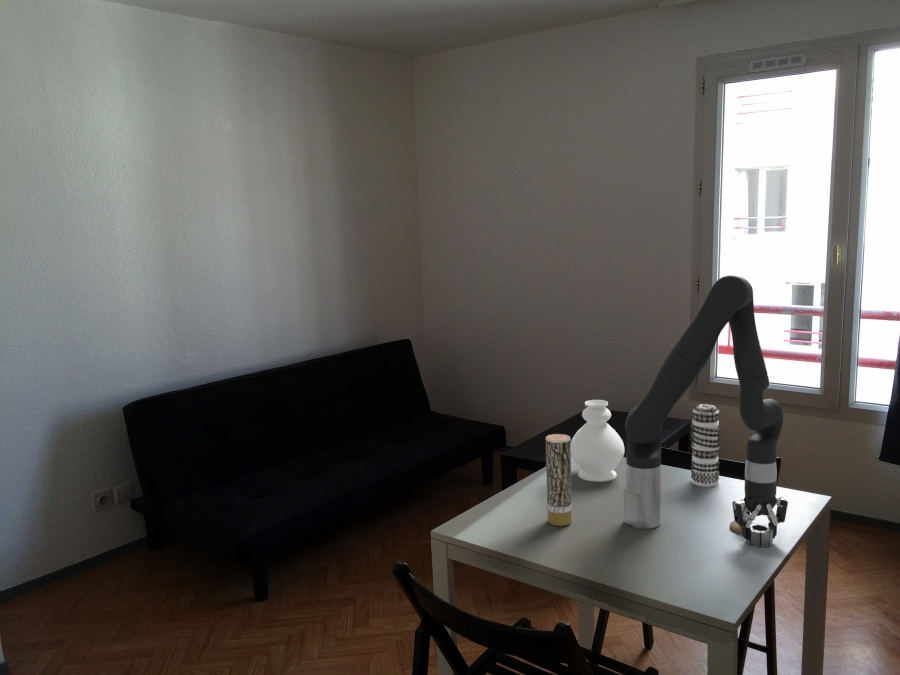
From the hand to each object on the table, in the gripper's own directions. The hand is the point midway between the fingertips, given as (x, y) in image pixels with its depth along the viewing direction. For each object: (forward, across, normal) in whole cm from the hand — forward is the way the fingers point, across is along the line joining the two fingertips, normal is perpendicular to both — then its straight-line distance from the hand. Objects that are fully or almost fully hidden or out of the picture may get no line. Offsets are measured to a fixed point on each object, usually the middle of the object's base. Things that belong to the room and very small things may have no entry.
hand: (759, 538), depth 189 cm
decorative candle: (+1, -5, -44) cm, 45 cm away
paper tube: (+1, +48, -22) cm, 52 cm away
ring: (+1, 0, 0) cm, 1 cm away
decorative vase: (+1, +26, -57) cm, 63 cm away
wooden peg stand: (+1, 0, -8) cm, 9 cm away
